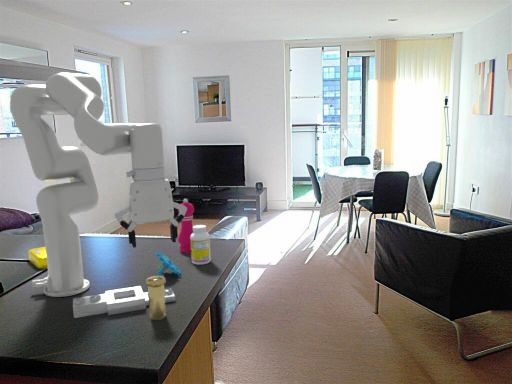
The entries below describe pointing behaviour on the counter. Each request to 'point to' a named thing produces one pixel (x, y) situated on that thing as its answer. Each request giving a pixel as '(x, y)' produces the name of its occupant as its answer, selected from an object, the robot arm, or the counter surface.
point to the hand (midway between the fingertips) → (154, 243)
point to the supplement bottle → (200, 245)
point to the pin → (156, 297)
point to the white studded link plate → (115, 301)
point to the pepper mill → (186, 228)
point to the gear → (166, 264)
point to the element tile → (38, 257)
